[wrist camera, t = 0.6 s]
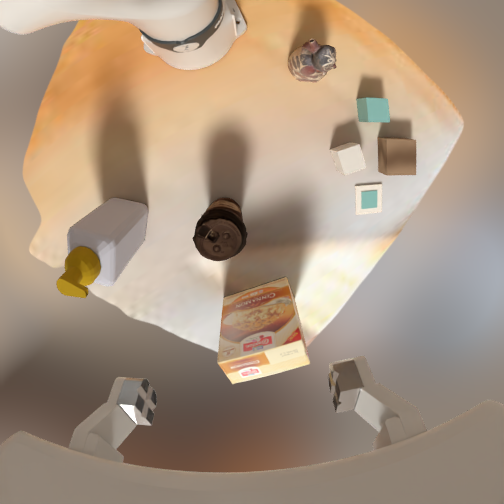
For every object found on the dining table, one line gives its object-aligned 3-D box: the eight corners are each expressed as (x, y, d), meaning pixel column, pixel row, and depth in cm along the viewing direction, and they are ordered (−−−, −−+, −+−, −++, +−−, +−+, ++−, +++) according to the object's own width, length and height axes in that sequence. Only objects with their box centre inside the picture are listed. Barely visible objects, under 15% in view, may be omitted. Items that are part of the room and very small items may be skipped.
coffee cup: (196, 197, 51) (182, 221, 39) (238, 184, 50) (236, 204, 38) (211, 238, 55) (202, 271, 43) (251, 226, 54) (253, 258, 42)
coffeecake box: (286, 275, 59) (302, 339, 42) (295, 300, 62) (311, 364, 45) (222, 296, 61) (215, 362, 44) (234, 319, 64) (232, 385, 47)
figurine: (307, 90, 42) (326, 82, 32) (279, 63, 40) (289, 46, 29) (333, 68, 40) (358, 56, 29) (306, 42, 38) (324, 21, 27)
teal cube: (356, 99, 43) (365, 97, 39) (376, 99, 43) (387, 98, 39) (358, 121, 45) (368, 122, 41) (379, 121, 45) (390, 122, 41)
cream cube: (329, 149, 47) (337, 151, 43) (350, 142, 47) (359, 144, 43) (336, 171, 49) (344, 175, 45) (357, 163, 49) (366, 167, 45)
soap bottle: (145, 244, 55) (93, 322, 32) (107, 234, 53) (44, 303, 31) (150, 203, 51) (89, 267, 28) (110, 195, 50) (36, 249, 27)
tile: (354, 185, 50) (356, 186, 50) (381, 183, 50) (382, 184, 50) (355, 214, 53) (356, 215, 53) (380, 211, 53) (382, 212, 52)
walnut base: (377, 137, 46) (386, 138, 43) (405, 138, 46) (416, 140, 42) (377, 171, 49) (387, 175, 46) (405, 170, 49) (415, 174, 46)
